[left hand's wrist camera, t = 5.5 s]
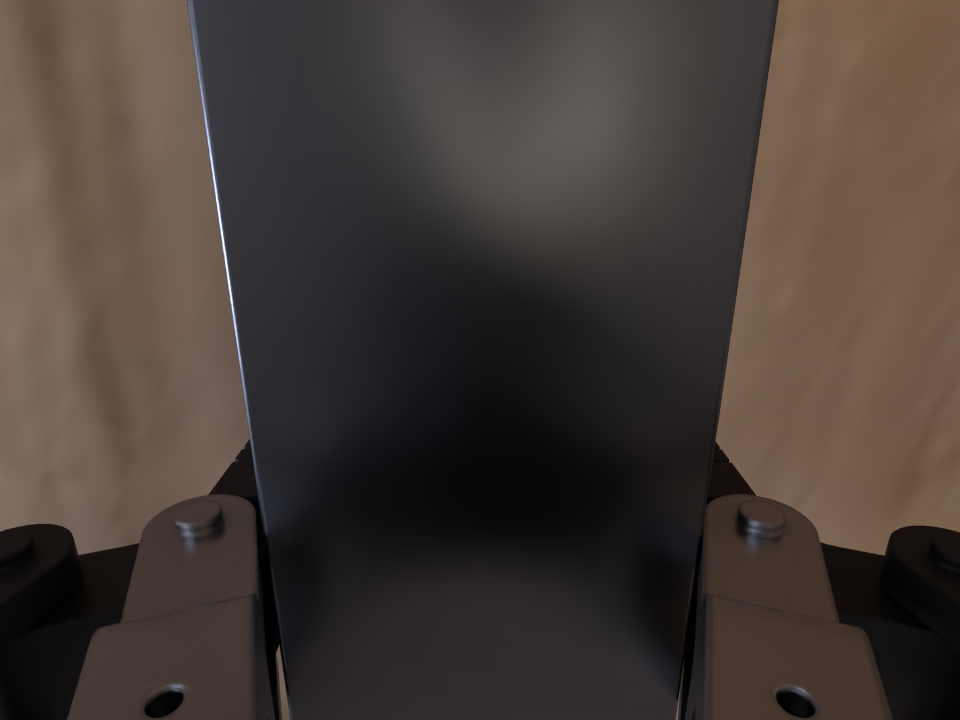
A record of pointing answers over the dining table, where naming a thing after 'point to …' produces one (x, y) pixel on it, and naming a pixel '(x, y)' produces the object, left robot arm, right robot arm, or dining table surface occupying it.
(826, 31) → the dining table surface
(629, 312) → the bar
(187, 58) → the dining table surface
